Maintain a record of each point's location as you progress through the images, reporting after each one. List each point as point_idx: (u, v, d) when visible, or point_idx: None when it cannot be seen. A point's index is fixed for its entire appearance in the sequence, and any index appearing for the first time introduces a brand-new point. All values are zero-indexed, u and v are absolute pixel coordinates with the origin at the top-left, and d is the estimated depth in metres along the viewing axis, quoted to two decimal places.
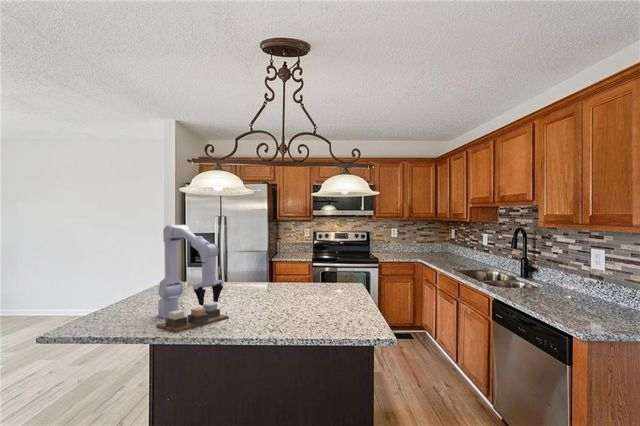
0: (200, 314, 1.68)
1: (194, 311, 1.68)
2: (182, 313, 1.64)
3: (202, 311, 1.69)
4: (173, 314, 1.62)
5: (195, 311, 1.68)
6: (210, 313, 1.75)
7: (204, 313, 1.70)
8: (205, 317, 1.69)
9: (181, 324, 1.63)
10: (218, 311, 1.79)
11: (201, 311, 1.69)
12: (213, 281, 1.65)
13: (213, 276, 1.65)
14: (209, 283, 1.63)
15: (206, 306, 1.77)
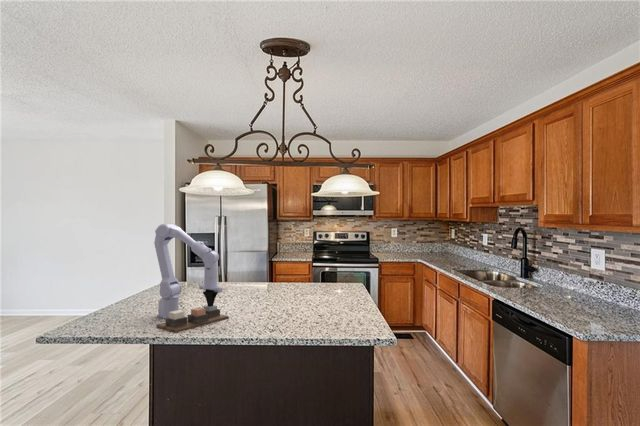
0: (200, 314, 1.68)
1: (194, 311, 1.68)
2: (182, 313, 1.64)
3: (202, 311, 1.69)
4: (173, 314, 1.62)
5: (195, 311, 1.68)
6: (210, 313, 1.75)
7: (204, 313, 1.70)
8: (205, 317, 1.69)
9: (181, 324, 1.63)
10: (218, 311, 1.79)
11: (201, 311, 1.69)
12: (206, 286, 1.77)
13: (206, 281, 1.77)
14: (203, 287, 1.78)
15: (206, 308, 1.77)
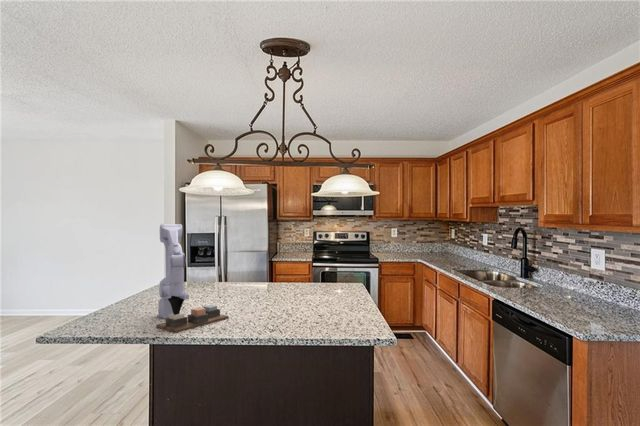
0: (200, 314, 1.68)
1: (194, 311, 1.68)
2: (182, 315, 1.64)
3: (202, 311, 1.69)
4: (173, 316, 1.62)
5: (195, 311, 1.68)
6: (210, 313, 1.75)
7: (204, 313, 1.70)
8: (205, 317, 1.69)
9: (181, 324, 1.63)
10: (218, 311, 1.79)
11: (201, 311, 1.69)
12: (171, 292, 1.62)
13: (171, 287, 1.62)
14: (169, 293, 1.63)
15: (206, 308, 1.77)
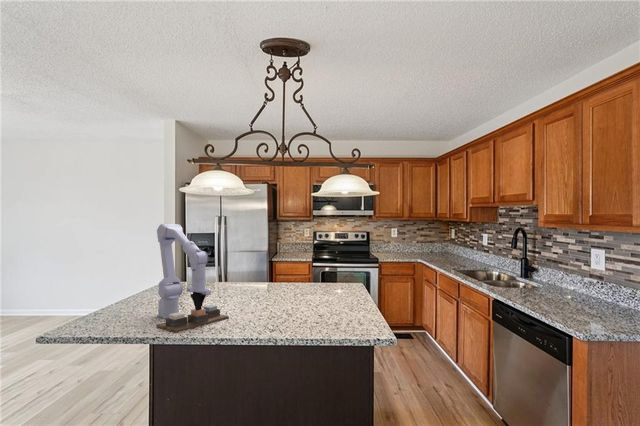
0: (200, 315, 1.68)
1: (194, 312, 1.68)
2: (182, 315, 1.64)
3: (202, 312, 1.69)
4: (173, 316, 1.62)
5: (195, 312, 1.68)
6: (210, 313, 1.75)
7: (204, 314, 1.70)
8: (205, 317, 1.69)
9: (181, 324, 1.63)
10: (218, 311, 1.79)
11: (201, 312, 1.69)
12: (193, 288, 1.68)
13: (193, 283, 1.68)
14: (191, 289, 1.69)
15: (206, 308, 1.77)
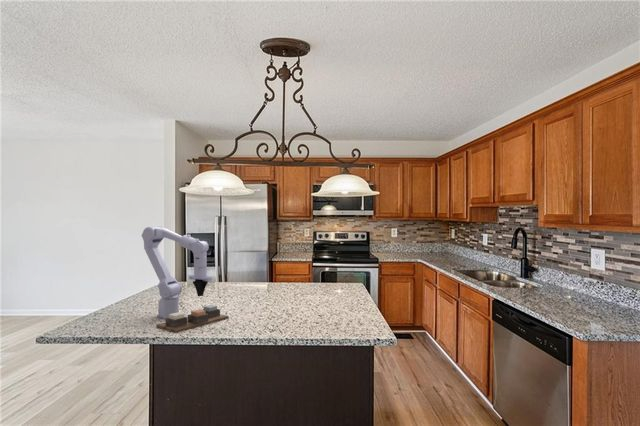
0: None
1: (194, 313, 1.68)
2: (182, 315, 1.64)
3: (202, 313, 1.69)
4: (173, 316, 1.62)
5: (195, 313, 1.68)
6: (210, 313, 1.75)
7: None
8: (205, 317, 1.69)
9: (181, 324, 1.63)
10: (218, 311, 1.79)
11: (201, 313, 1.69)
12: (195, 275, 1.77)
13: (195, 271, 1.77)
14: (193, 276, 1.78)
15: (206, 308, 1.77)
